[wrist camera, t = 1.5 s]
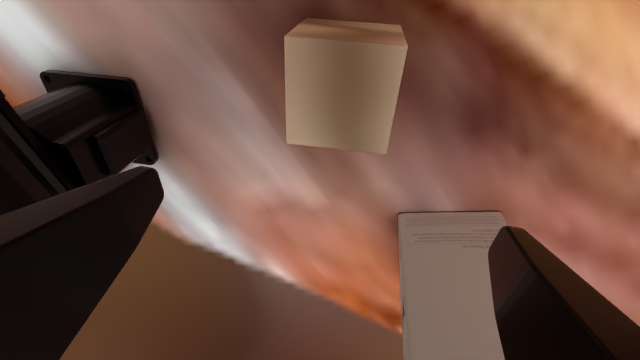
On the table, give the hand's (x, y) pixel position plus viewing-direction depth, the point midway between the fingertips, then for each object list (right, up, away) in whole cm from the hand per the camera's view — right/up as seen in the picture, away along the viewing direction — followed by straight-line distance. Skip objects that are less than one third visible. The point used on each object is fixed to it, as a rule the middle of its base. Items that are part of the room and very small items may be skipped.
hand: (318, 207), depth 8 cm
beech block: (+2, +7, +10) cm, 12 cm away
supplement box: (+10, -4, +17) cm, 20 cm away
